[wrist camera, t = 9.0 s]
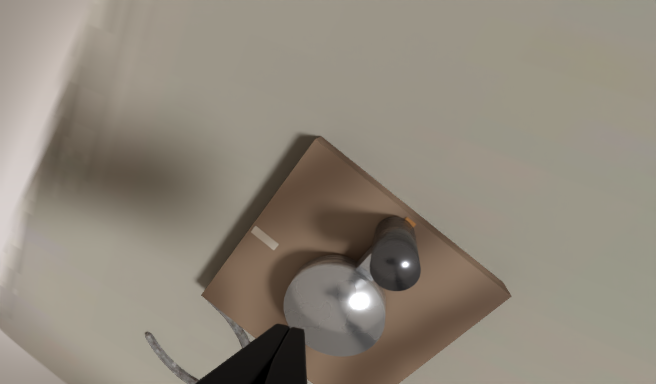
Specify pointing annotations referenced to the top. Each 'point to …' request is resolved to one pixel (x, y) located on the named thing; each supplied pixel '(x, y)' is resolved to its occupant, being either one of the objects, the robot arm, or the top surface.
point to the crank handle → (352, 291)
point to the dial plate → (354, 241)
